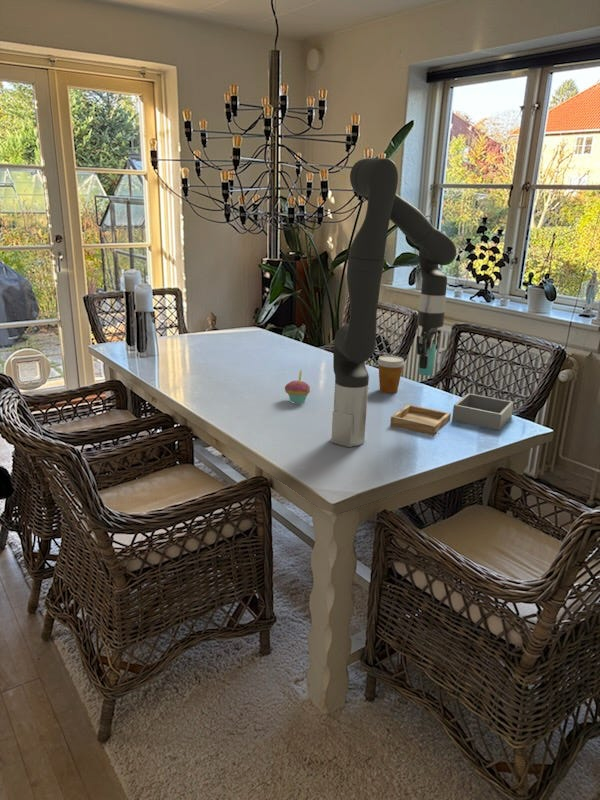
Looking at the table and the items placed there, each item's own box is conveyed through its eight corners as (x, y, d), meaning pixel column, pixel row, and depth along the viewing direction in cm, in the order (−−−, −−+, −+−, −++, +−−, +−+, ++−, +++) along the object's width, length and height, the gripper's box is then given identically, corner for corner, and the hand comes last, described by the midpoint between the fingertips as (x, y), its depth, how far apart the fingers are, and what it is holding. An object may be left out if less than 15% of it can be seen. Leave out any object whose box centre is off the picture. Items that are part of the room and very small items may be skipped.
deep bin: (498, 433, 183) (501, 414, 181) (451, 423, 190) (453, 404, 188) (511, 419, 195) (513, 401, 193) (466, 410, 202) (468, 393, 200)
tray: (433, 436, 179) (435, 426, 178) (390, 425, 186) (391, 416, 185) (449, 422, 191) (450, 413, 190) (408, 413, 198) (408, 404, 197)
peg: (429, 376, 180) (432, 346, 177) (415, 373, 182) (418, 344, 179) (434, 373, 184) (437, 344, 181) (421, 370, 186) (423, 341, 183)
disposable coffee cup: (405, 389, 221) (408, 357, 217) (395, 396, 213) (398, 363, 209) (381, 385, 226) (383, 353, 222) (370, 391, 218) (373, 359, 214)
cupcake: (314, 403, 204) (315, 369, 200) (292, 407, 200) (293, 372, 196) (301, 396, 211) (302, 362, 207) (280, 399, 207) (280, 365, 203)
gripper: (435, 314, 169) (429, 373, 175) (452, 307, 181) (446, 363, 186) (410, 311, 173) (404, 369, 178) (428, 304, 184) (422, 359, 190)
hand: (426, 366), depth 182 cm, fingers closed on peg, 4 cm apart
